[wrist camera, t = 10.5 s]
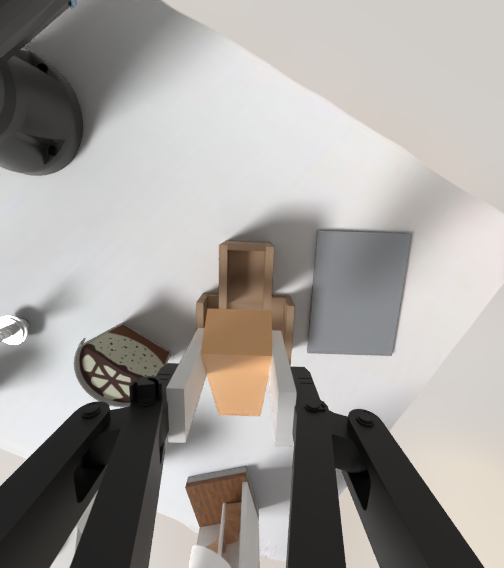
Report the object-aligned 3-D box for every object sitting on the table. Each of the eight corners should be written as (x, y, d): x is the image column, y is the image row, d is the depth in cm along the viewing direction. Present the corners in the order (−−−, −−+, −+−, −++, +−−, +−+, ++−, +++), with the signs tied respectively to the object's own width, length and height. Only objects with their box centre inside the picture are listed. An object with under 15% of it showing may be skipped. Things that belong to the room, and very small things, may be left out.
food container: (97, 345, 44) (53, 380, 35) (114, 317, 43) (74, 344, 33) (160, 383, 46) (135, 426, 36) (178, 356, 45) (158, 393, 35)
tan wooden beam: (207, 308, 16) (200, 353, 15) (271, 310, 16) (272, 356, 15) (221, 383, 27) (219, 414, 25) (260, 384, 27) (260, 416, 25)
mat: (317, 230, 40) (318, 230, 39) (409, 233, 40) (411, 233, 39) (307, 351, 44) (307, 353, 44) (389, 354, 44) (391, 355, 44)
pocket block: (202, 239, 40) (189, 243, 32) (293, 243, 40) (303, 247, 33) (203, 348, 44) (192, 374, 37) (286, 350, 44) (293, 377, 37)
